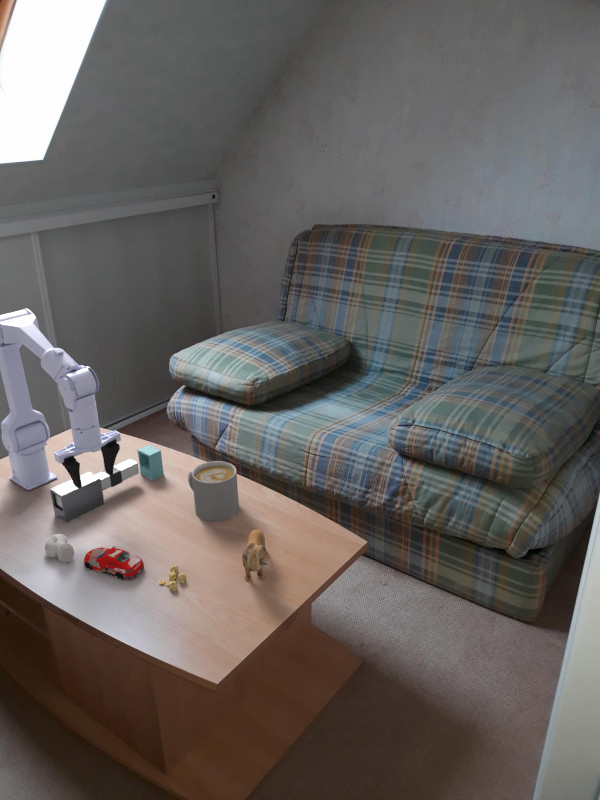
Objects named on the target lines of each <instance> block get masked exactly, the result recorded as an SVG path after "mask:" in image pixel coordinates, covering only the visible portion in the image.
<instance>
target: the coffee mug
mask: <svg viewBox="0 0 600 800" xmlns="http://www.w3.org/2000/svg"><path fill="white" fill-rule="evenodd" d="M237 473H238V472H237V469H236V466H235V465H233V464H232V463H230V462H227V461H222V460H215V461H214V460H213V461H207V462H202V463H201V464H199V465H197V466H196V467H195V468H193V469H191V470H190V471H189V472H188V476H187V481H188V485H189V487H190V489H191V490H192V492H193V501H194V510H195V511H194V512H195V514H196V517H198V519H200V520H202V521H205V522H210V523H211V522H212V523H214V522H215V523H216V522H217V523H218V522H224V521H226V520H227V521H228V520H229V519H231V518H233V517H234V516H235V515H237V514H238V513H239V510H240V508H239V506H240V505H239V490H238V489H239V488H238V475H237Z"/></svg>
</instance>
